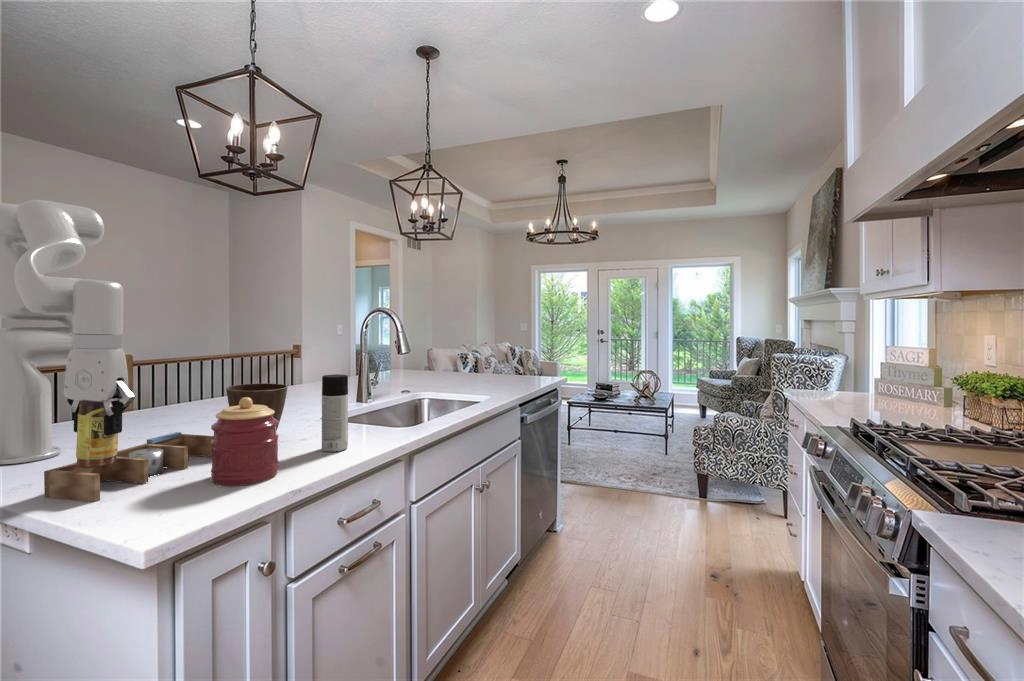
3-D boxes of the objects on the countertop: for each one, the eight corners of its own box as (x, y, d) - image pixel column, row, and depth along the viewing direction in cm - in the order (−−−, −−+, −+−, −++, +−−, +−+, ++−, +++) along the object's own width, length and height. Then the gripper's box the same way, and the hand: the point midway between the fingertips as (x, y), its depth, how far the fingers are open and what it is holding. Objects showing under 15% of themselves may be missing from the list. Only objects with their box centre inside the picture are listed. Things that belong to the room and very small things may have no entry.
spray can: (353, 448, 129) (353, 375, 128) (331, 454, 123) (332, 377, 122) (337, 444, 132) (337, 373, 132) (315, 449, 127) (316, 375, 126)
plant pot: (284, 435, 142) (284, 382, 141) (290, 447, 129) (290, 388, 128) (226, 440, 134) (226, 384, 133) (226, 454, 121) (226, 391, 120)
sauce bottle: (92, 471, 91) (93, 368, 90) (67, 467, 92) (67, 366, 91) (126, 461, 98) (127, 365, 96) (102, 457, 99) (103, 363, 98)
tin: (121, 477, 102) (121, 454, 102) (147, 469, 108) (146, 447, 108) (145, 479, 101) (145, 456, 101) (170, 471, 107) (169, 449, 107)
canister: (216, 471, 108) (216, 394, 107) (280, 465, 113) (280, 392, 112) (205, 490, 96) (205, 403, 95) (276, 483, 101) (277, 400, 100)
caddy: (43, 497, 90) (43, 467, 90) (180, 453, 121) (180, 430, 121) (94, 501, 88) (94, 471, 88) (220, 456, 119) (220, 433, 119)
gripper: (40, 341, 91) (40, 432, 92) (117, 346, 89) (116, 441, 90) (81, 339, 99) (81, 424, 100) (153, 344, 96) (152, 431, 97)
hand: (98, 431), depth 95 cm, fingers closed on sauce bottle, 6 cm apart
